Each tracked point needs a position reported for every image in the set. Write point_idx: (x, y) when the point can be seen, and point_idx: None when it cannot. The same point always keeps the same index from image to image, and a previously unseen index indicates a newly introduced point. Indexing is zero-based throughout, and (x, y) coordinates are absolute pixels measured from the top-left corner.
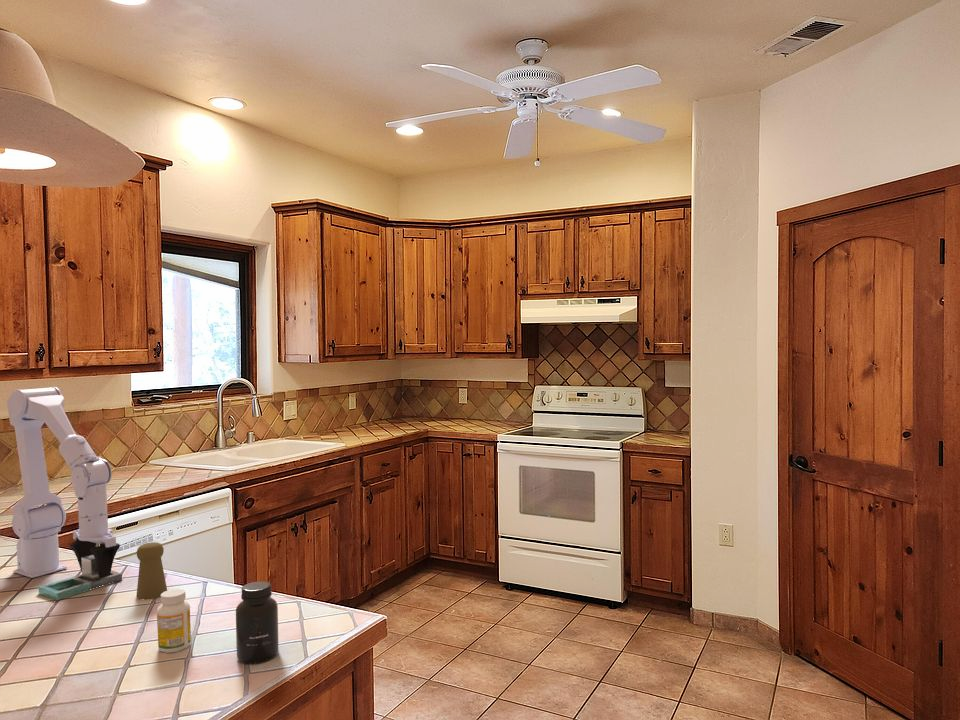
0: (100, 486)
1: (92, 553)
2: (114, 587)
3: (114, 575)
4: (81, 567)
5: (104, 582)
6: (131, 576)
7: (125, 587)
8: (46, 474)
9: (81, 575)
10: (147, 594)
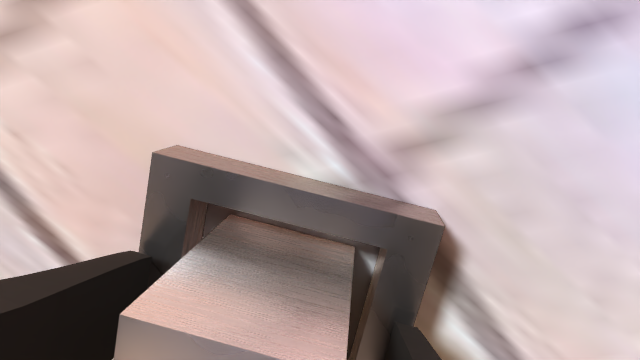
0: None
1: (41, 317)
2: (502, 341)
3: (421, 280)
4: (111, 356)
5: None
6: (443, 122)
7: (590, 326)
8: None
9: None
10: None
